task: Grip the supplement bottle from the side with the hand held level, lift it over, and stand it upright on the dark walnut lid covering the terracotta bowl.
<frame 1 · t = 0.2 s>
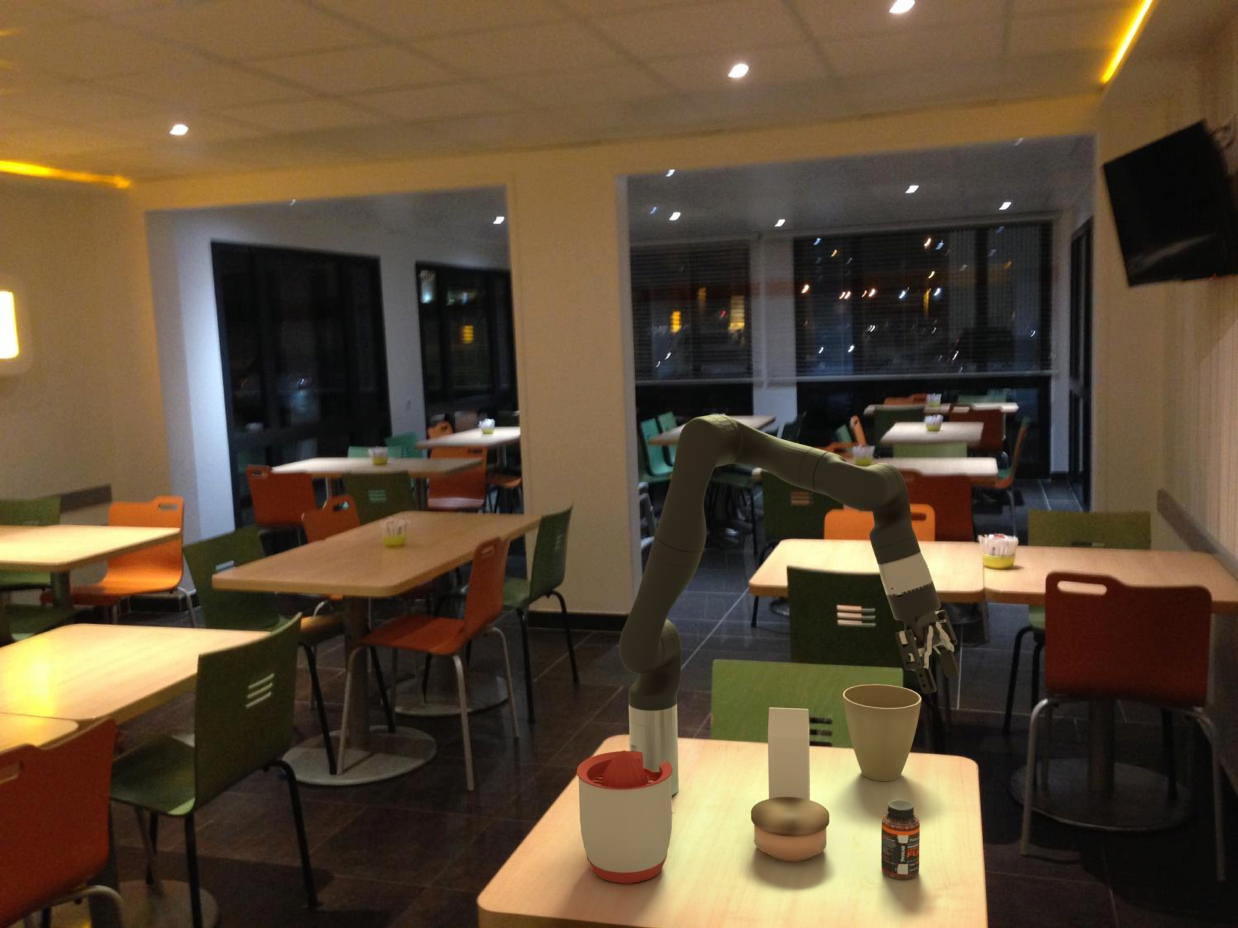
hand: (941, 684, 169), 31 cm above the table, tool tilted 20°, fingers open, 8 cm apart
supplement bottle: (900, 872, 172), on the table
walnut lid: (789, 815, 180), on the terracotta bowl, point 5 cm above the table
plant pot: (881, 774, 211), on the table
citrus juicer: (631, 866, 177), on the table
terracotta bowl: (790, 849, 181), on the table
milk carton: (789, 809, 197), on the table
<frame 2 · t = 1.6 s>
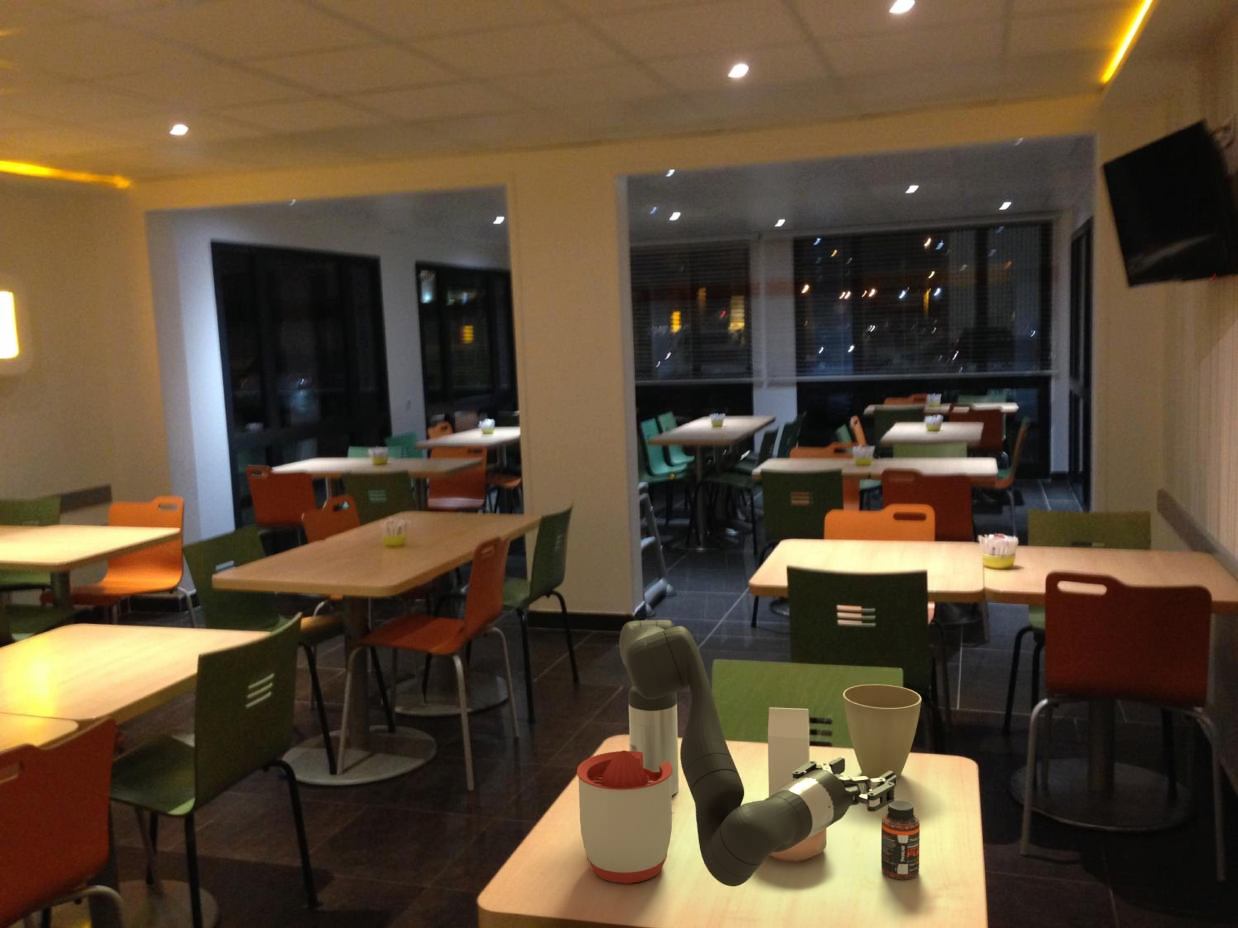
hand: (867, 770, 163), 20 cm above the table, tool horizontal, fingers open, 8 cm apart
nothing on the table moved.
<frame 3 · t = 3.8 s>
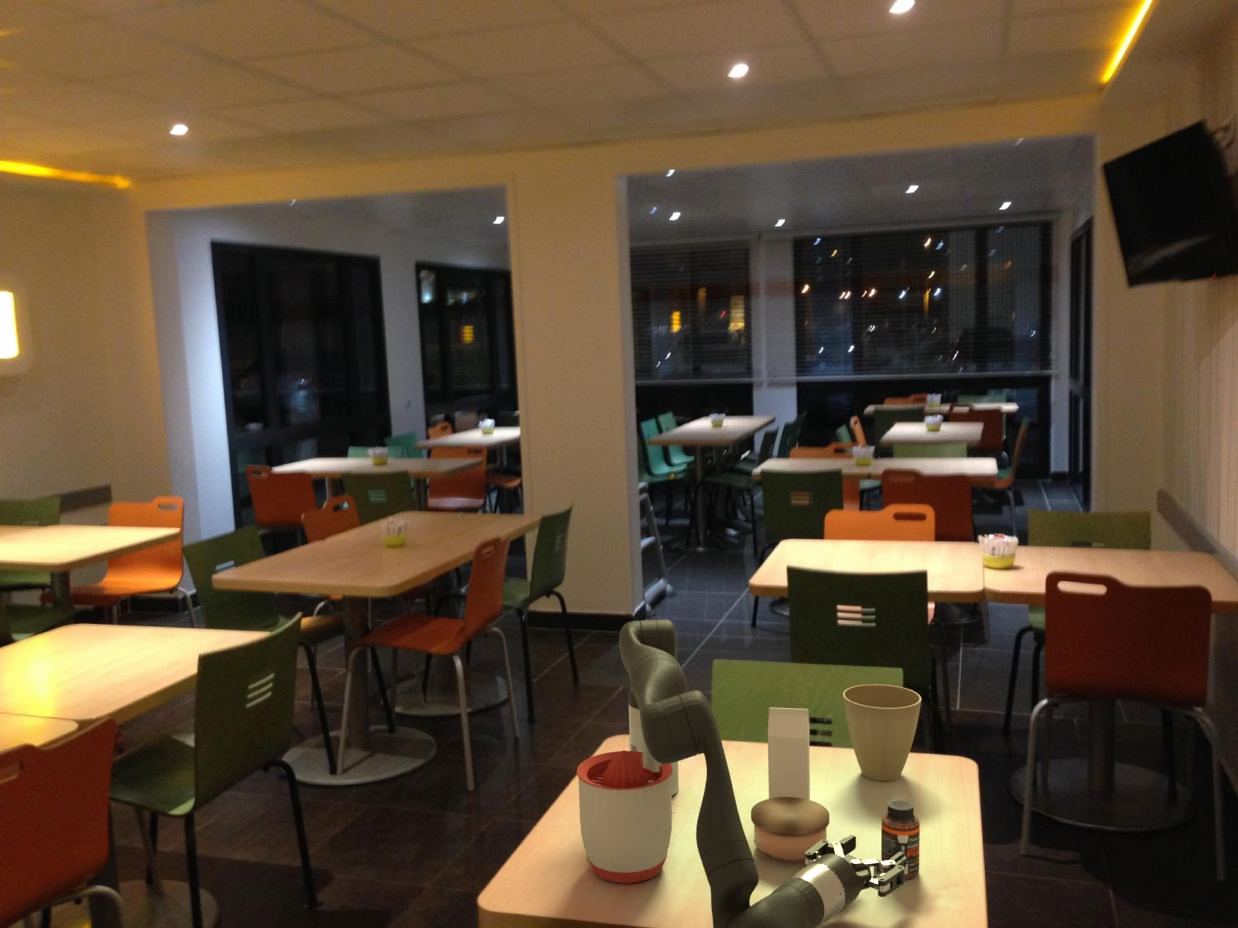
hand: (878, 849, 167), 6 cm above the table, tool horizontal, fingers open, 8 cm apart
nothing on the table moved.
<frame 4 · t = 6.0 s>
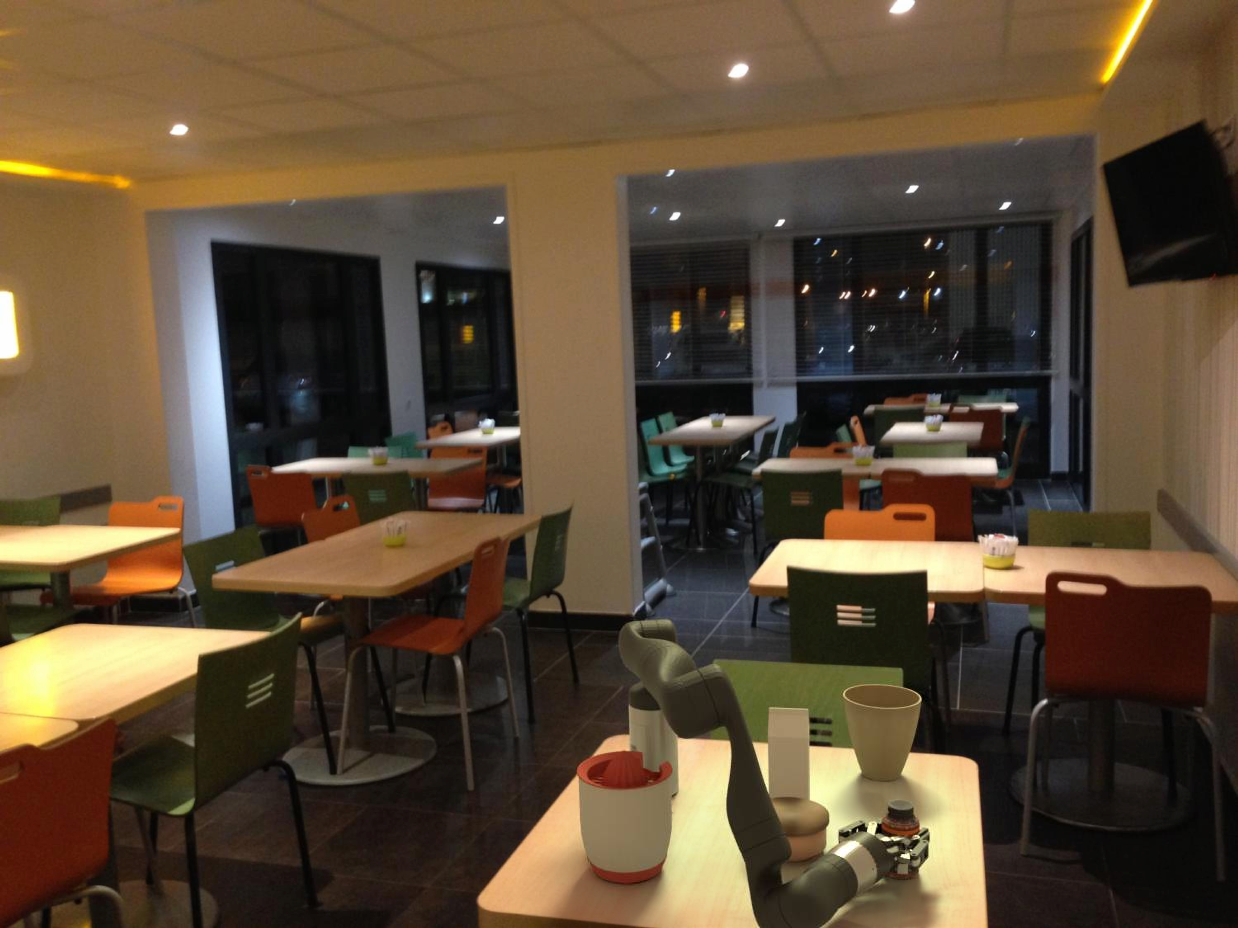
hand: (907, 827, 173), 7 cm above the table, tool horizontal, fingers closed on supplement bottle, 6 cm apart
supplement bottle: (900, 872, 172), on the table, touching gripper
everything else where it was.
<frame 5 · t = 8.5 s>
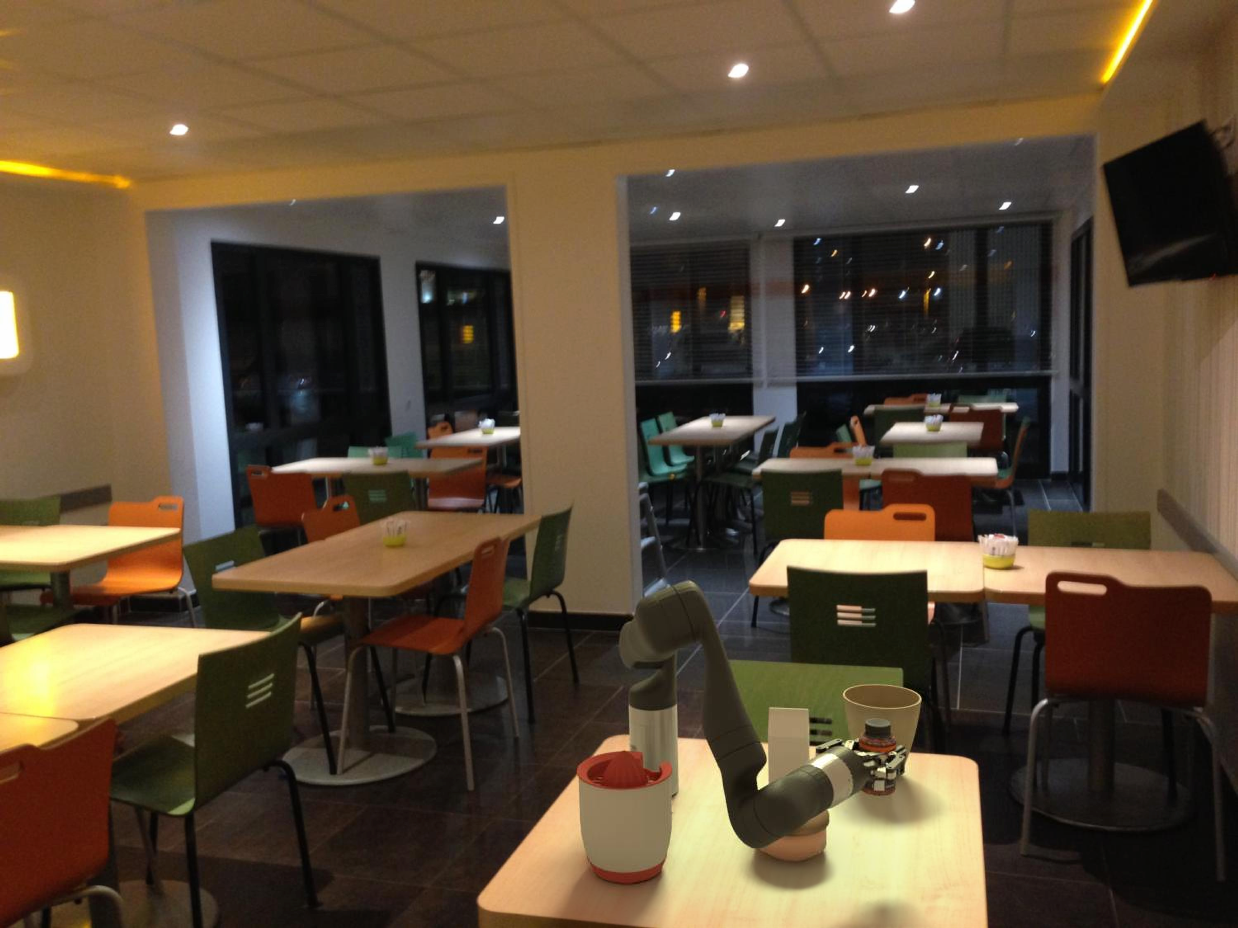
hand: (884, 746, 174), 19 cm above the table, tool horizontal, fingers closed on supplement bottle, 6 cm apart
supplement bottle: (876, 790, 173), point 13 cm above the table, touching gripper
everything else where it was.
when the fingers open (14 cm above the table, at t = 11.4 s): supplement bottle drops 1 cm, resting on walnut lid.
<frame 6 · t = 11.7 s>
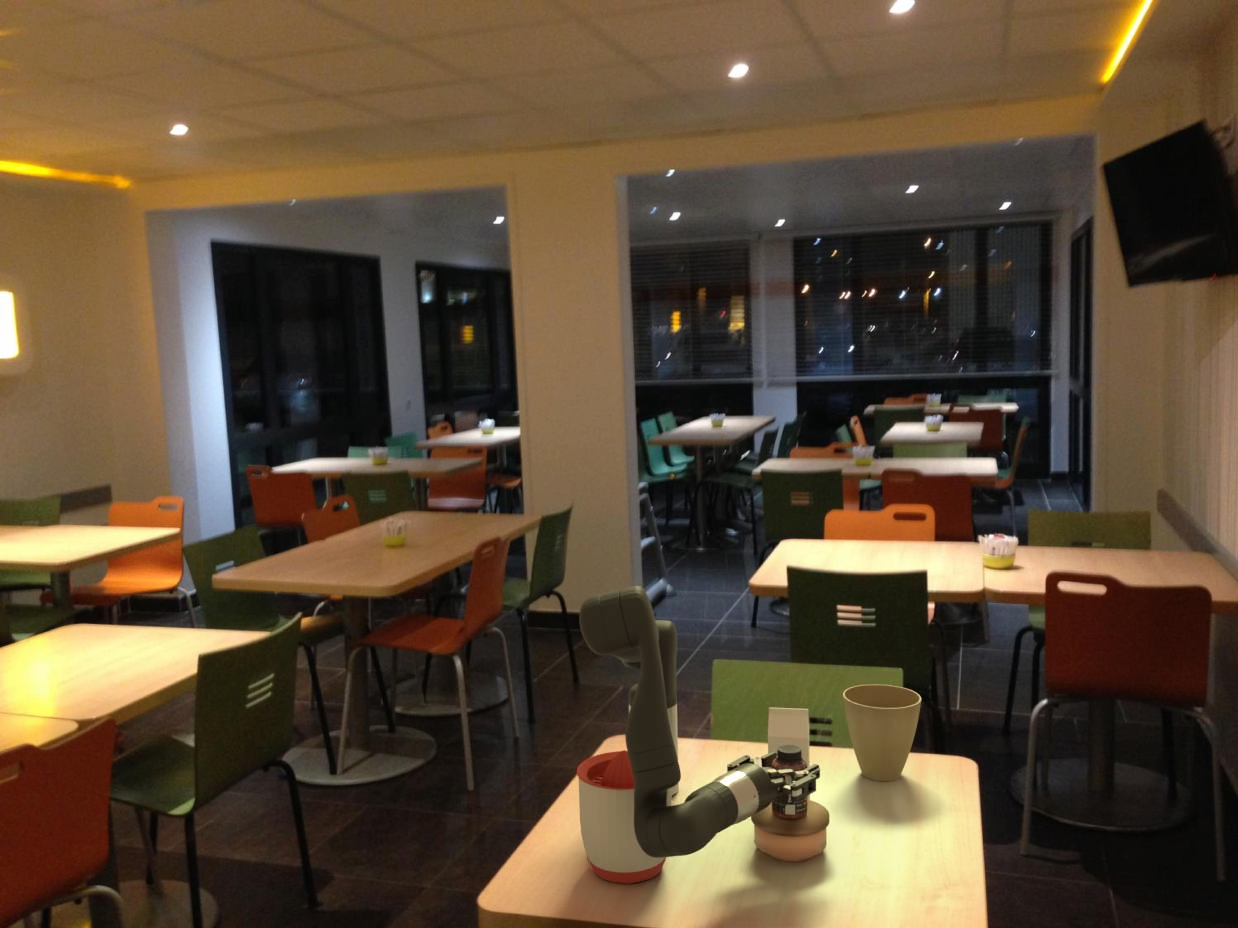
hand: (795, 763, 181), 15 cm above the table, tool horizontal, fingers open, 8 cm apart
supplement bottle: (789, 814, 180), point 6 cm above the table, touching walnut lid
everything else where it was.
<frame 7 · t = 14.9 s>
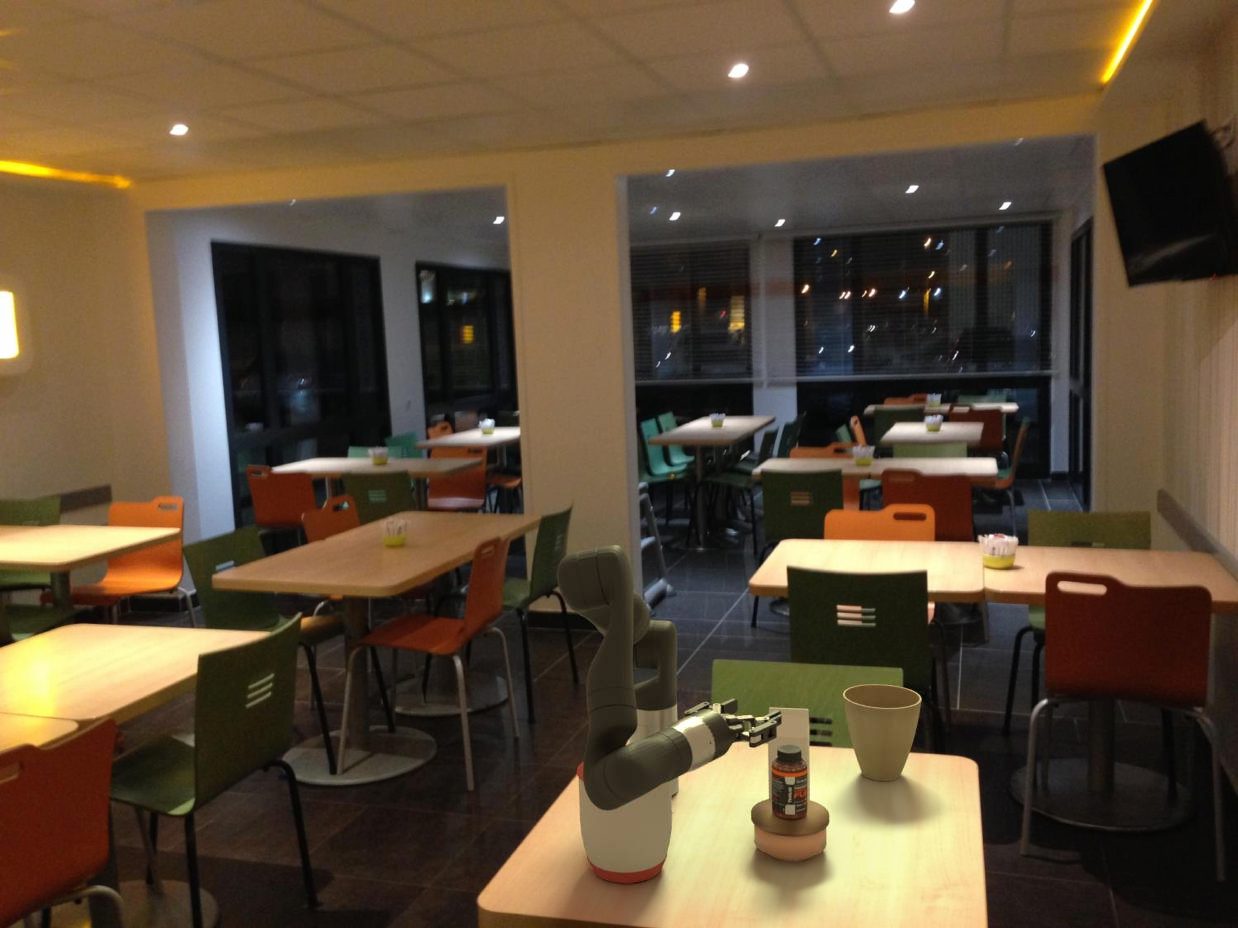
hand: (757, 710, 172), 26 cm above the table, tool horizontal, fingers open, 8 cm apart
nothing on the table moved.
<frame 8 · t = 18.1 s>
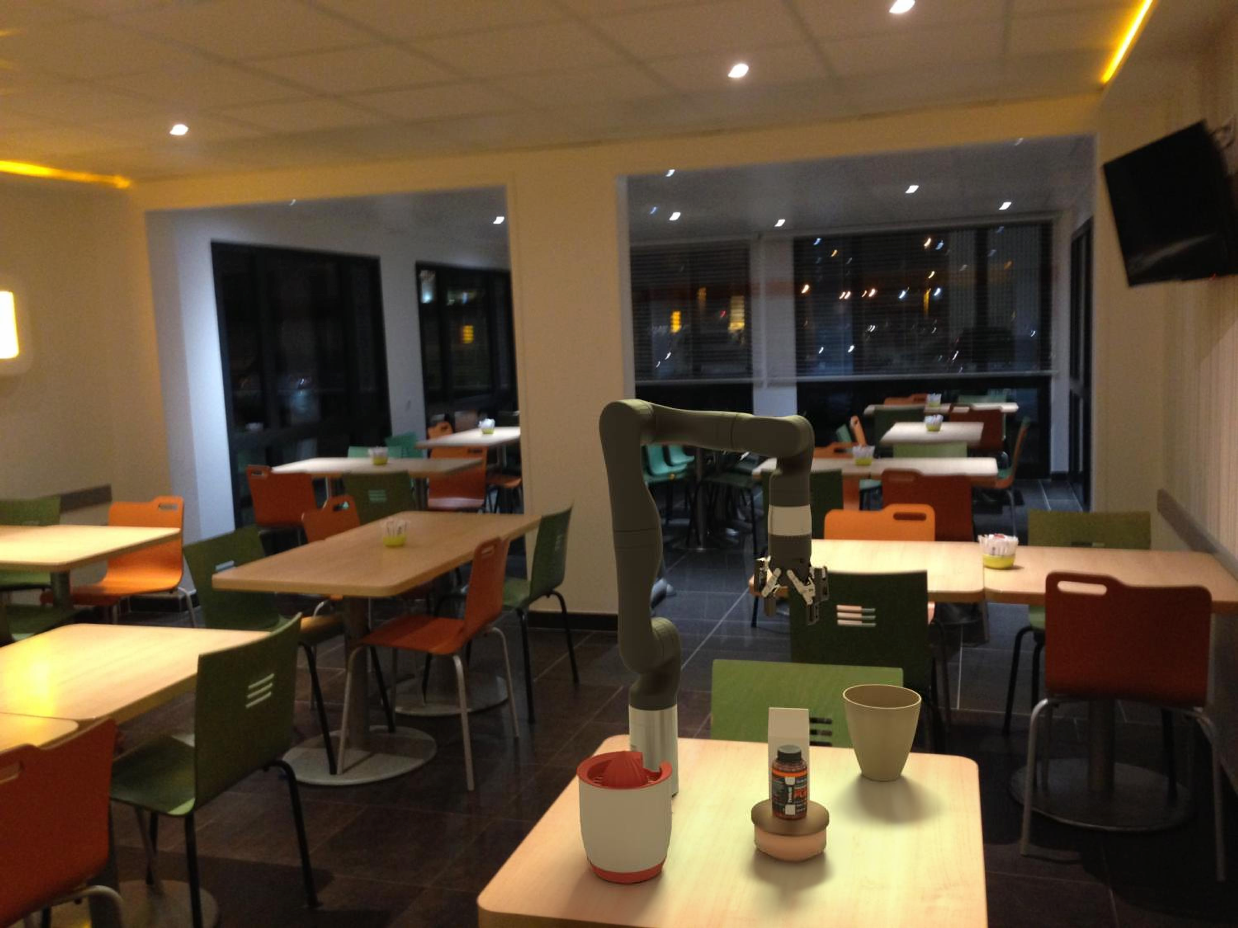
hand: (790, 620, 190), 36 cm above the table, tool pointing down, fingers open, 8 cm apart
nothing on the table moved.
at the end: supplement bottle inside the target area on the terracotta bowl (0.1 cm from its centre), point 6.3 cm above the terracotta bowl's base; supplement bottle tilted 0°; the gripper is holding nothing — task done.
